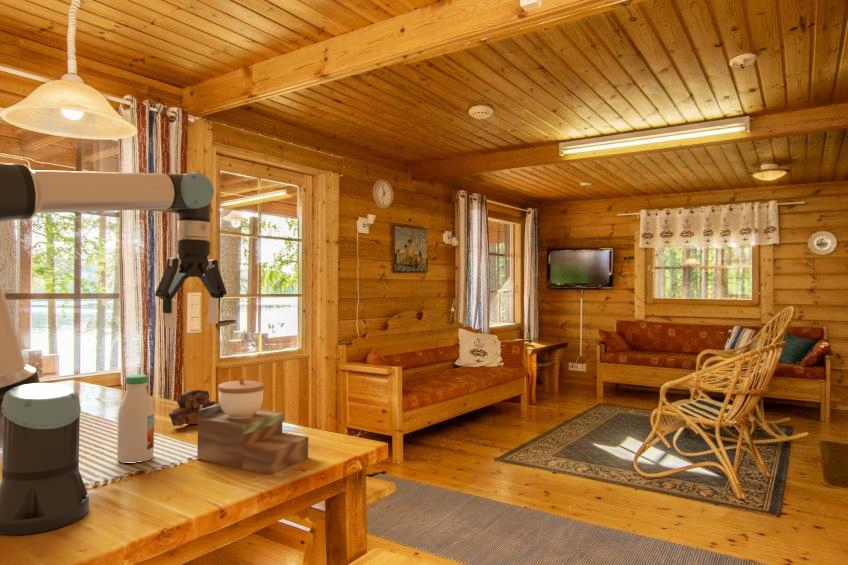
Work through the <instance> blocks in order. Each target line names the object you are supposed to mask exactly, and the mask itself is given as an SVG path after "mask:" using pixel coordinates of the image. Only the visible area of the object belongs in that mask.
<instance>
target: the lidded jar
mask: <svg viewBox="0 0 848 565" xmlns="http://www.w3.org/2000/svg"><path fill="white" fill-rule="evenodd" d="M217 390H218V404H220V407H221V409H222V411H223V412H224V413H225V414H226V415H227V416H228V418H231V419H246V418H251V417H253V416H254V414H255V413H256V412H257V411H258V410H259V409H261V407H262V403H263V401H264V400H263V399H264V390H265V383H264V382H262V381H257V380H245V378H244V377H239V379H238V380H232V381H231V380H230V381H226V382H221V383H220V384H218V386H217Z"/></svg>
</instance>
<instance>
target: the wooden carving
mask: <svg viewBox="0 0 848 565" xmlns="http://www.w3.org/2000/svg"><path fill="white" fill-rule="evenodd" d="M176 402H177V404H178V407H177V408H173V409H172V410H171V411H170V412H169V413H168V417H169V419H170V420H171V423H172V426H173V427H181V426H183V425H196V424H197V425H198V409H202V408H206V407H210V406H214V405H216V401H215V400H212V401H210V394H209V391H208V390H203V389H189V390H186V391H185V392H183V393H182V394H179V395H178V397H177V399H176Z"/></svg>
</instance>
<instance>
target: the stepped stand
mask: <svg viewBox="0 0 848 565" xmlns="http://www.w3.org/2000/svg"><path fill="white" fill-rule="evenodd" d="M284 421H285V412H280V411H272V410H267V409H261V408H259V410H258V411H257V412H256V413H255V414H254V416H253V417H251V418H246V419H231V418H228V416H227V415H226V414H225V413H224V412H223V411H222V409H221V407H220V403H218V404H214V405H212V406H210V407H206V408H202V409H198V423H197V450H196V451H197V455H196V456H197V458H199V459H202V460H201V461H203V460H206V461H205V462H207V461H210V462H209V463H212V462H214V463H213V464H217V463H218V464H219V465H223V466H227V467H232V468H237V469H241V470H246V471H250V472H255V473H261V474H264V473H266V474H265V475H269V474H271V475H272V473H273V474H275V473H277V472H279V471H281V470H284V469H286V468H288V467H290V466H293V465H294V464H297V463H299V462H301V461H303V460H305V459H308V457H309V436H305V435H298V434H294V433H293V434H292V433H286V432H283V422H284ZM197 458H196V459H197Z"/></svg>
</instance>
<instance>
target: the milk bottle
mask: <svg viewBox="0 0 848 565" xmlns="http://www.w3.org/2000/svg"><path fill="white" fill-rule="evenodd" d="M148 378H149V377H148V375H146V374H130V375H127V376H126V377H125V387H126V392H125V394H124V397H123V399H122V401H121V403H120V405H119V408H118V414H117V415H118V416H117V446H116V448H117V449H116V450H117V454H116V456H117V461H118V462H119V461H121V462H137V461H144V460H148V459H150V458H152V459H153V457H154V450H155V449H154V445H155V443H154V442H155V411H154V410H155V409H154V404H153V402H152V399H151V397H150V395H149V393H148V389H147V385H148ZM150 460H151V459H150ZM148 461H149V460H148Z"/></svg>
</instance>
